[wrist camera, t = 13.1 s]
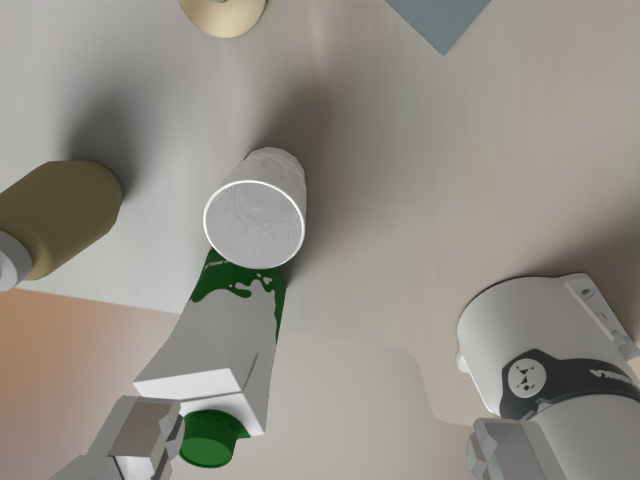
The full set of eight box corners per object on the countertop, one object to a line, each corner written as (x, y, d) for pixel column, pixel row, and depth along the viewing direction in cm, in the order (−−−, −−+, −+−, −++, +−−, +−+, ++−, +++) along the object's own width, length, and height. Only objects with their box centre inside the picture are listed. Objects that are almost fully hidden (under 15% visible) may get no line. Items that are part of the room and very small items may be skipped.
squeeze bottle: (144, 174, 38) (14, 284, 22) (122, 233, 42) (-4, 363, 26) (62, 132, 36) (-142, 220, 21) (46, 198, 40) (-138, 314, 24)
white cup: (244, 127, 35) (215, 164, 27) (323, 157, 36) (319, 201, 28) (225, 199, 39) (194, 251, 30) (297, 224, 40) (286, 281, 32)
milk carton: (227, 306, 46) (164, 477, 29) (197, 245, 42) (102, 404, 25) (296, 293, 45) (271, 465, 28) (272, 229, 41) (226, 386, 23)
